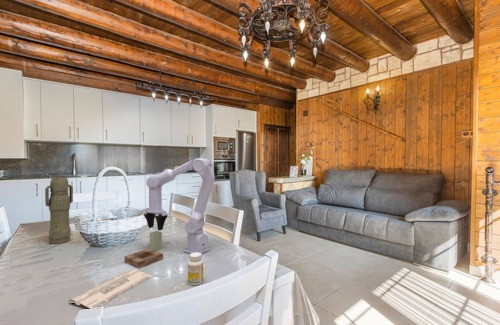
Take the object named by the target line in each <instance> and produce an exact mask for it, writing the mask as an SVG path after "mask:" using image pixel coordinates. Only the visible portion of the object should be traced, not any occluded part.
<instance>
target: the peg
mask: <svg viewBox="0 0 500 325" xmlns="http://www.w3.org/2000/svg"><path fill="white" fill-rule="evenodd" d="M149 249H152V250H155V251H157V252H158V251H161V250H163V232H162V231H160V230H157V231H152V232H149Z"/></svg>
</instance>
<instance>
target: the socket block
mask: <svg viewBox="0 0 500 325" xmlns="http://www.w3.org/2000/svg"><path fill="white" fill-rule="evenodd" d="M163 259H164V253H162V252H160V251H158V250H157V251H155V250H152V249H150V247H149V248H146V249H142V250H139V251H136V252H134V253H130V254H127V255H125V256H124V263H125V264H126V265H127V264H128V265H130V266H133V267H134V268H135V269H136V268H137V269H139V270H140V269H142V268H145V267H147V266H150V265H152V264H154V263H157V262H159V261H162V260H163Z"/></svg>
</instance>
